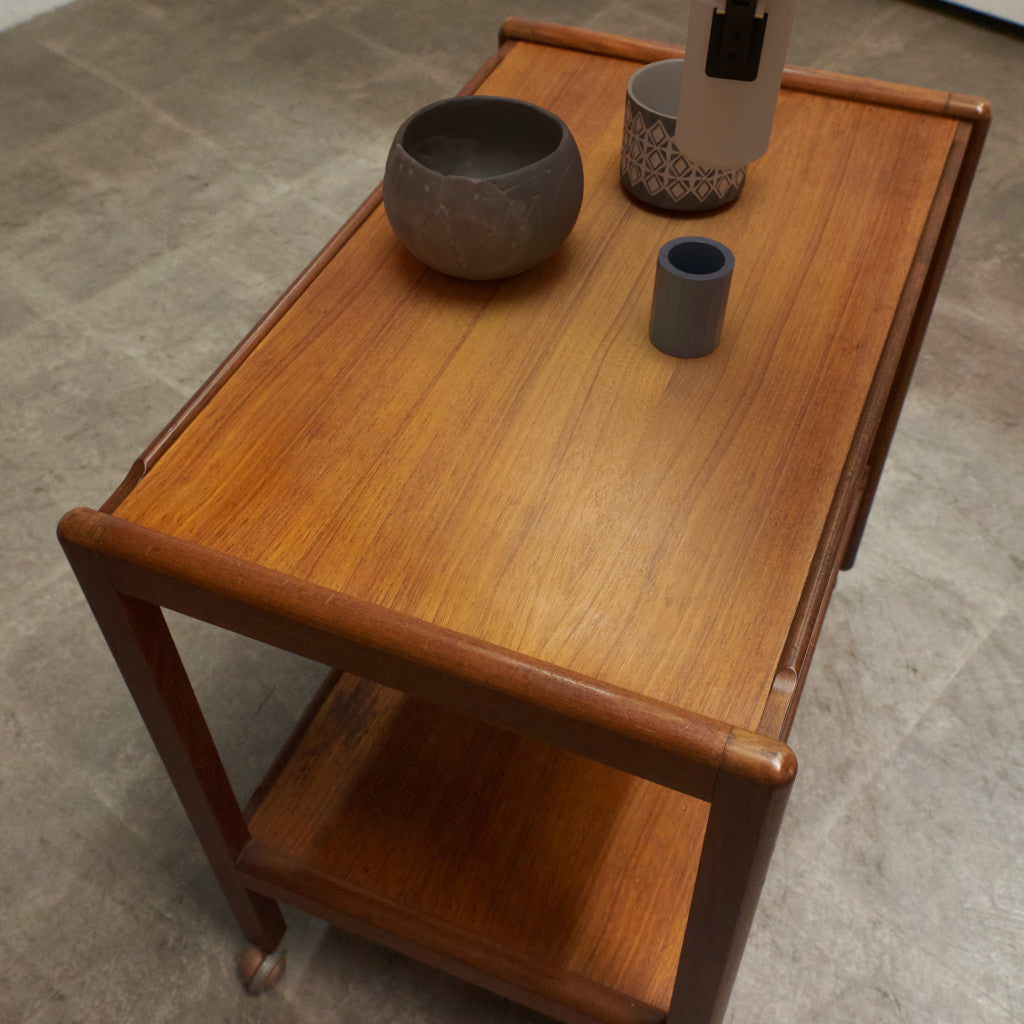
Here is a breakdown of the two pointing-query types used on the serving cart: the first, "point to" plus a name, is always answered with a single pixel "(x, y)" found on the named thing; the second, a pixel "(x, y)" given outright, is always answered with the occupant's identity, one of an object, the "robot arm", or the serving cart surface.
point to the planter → (666, 147)
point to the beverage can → (730, 94)
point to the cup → (690, 296)
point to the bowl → (483, 185)
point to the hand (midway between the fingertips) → (736, 49)
